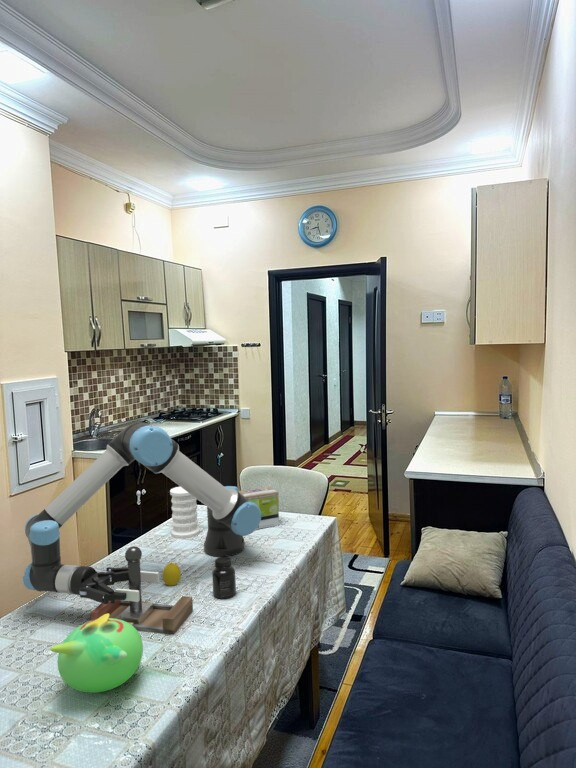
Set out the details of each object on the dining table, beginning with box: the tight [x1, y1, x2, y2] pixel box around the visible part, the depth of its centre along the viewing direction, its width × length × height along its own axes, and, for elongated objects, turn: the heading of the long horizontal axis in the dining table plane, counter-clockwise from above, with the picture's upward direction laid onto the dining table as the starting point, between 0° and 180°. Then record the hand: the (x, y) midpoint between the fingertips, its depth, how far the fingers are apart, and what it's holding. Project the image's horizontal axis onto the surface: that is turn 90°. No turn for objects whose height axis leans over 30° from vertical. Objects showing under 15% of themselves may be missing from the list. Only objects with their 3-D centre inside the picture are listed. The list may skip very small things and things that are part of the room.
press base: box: [90, 590, 194, 636], centre depth 141 cm, size 24×12×6 cm, turn 77°
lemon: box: [162, 562, 182, 587], centre depth 161 cm, size 6×6×8 cm
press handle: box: [118, 545, 153, 625], centre depth 141 cm, size 6×8×20 cm
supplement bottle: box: [211, 556, 237, 601], centre depth 153 cm, size 7×7×12 cm
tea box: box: [238, 486, 280, 530], centre depth 216 cm, size 15×10×15 cm, turn 117°
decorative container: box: [169, 486, 201, 539], centre depth 209 cm, size 12×12×18 cm
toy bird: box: [50, 613, 144, 694], centre depth 115 cm, size 18×17×15 cm
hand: (149, 586), depth 140 cm, fingers open, 10 cm apart
